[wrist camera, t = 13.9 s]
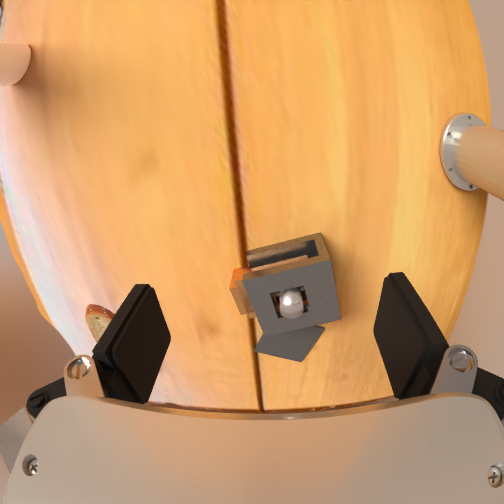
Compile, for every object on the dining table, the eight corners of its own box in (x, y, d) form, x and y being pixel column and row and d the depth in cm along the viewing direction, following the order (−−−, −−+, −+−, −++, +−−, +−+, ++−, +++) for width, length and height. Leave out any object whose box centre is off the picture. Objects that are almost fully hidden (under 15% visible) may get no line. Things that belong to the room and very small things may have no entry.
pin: (300, 265, 42) (307, 304, 34) (293, 281, 43) (297, 321, 35) (283, 259, 42) (285, 298, 33) (275, 275, 43) (276, 315, 35)
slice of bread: (87, 297, 49) (79, 308, 46) (163, 334, 52) (157, 347, 49) (86, 345, 57) (80, 355, 54) (149, 375, 60) (144, 387, 57)
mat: (324, 327, 48) (324, 329, 47) (301, 360, 52) (301, 362, 52) (273, 314, 47) (273, 315, 46) (254, 349, 51) (254, 351, 51)
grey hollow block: (320, 232, 39) (330, 259, 32) (331, 286, 44) (340, 319, 36) (228, 255, 42) (219, 285, 35) (248, 305, 46) (244, 339, 39)
